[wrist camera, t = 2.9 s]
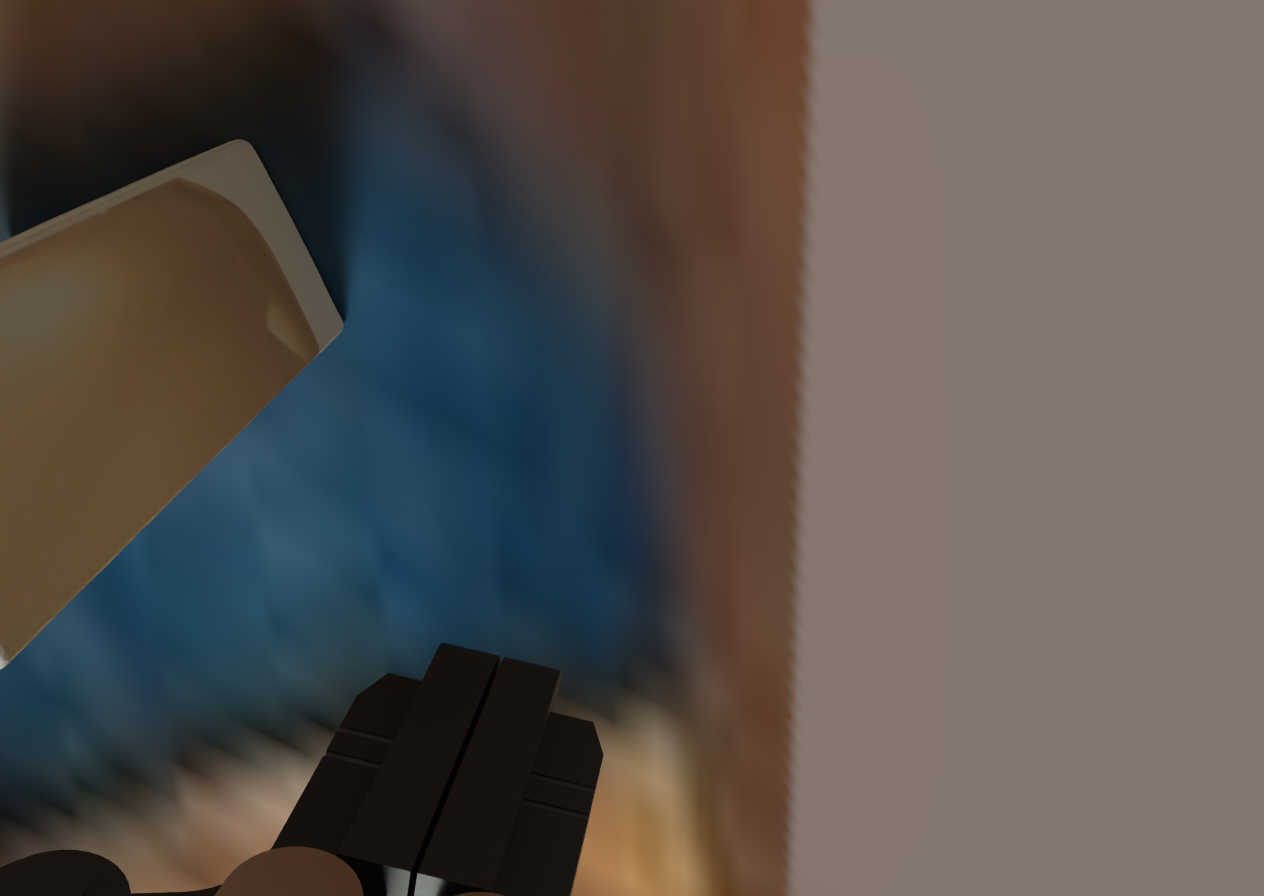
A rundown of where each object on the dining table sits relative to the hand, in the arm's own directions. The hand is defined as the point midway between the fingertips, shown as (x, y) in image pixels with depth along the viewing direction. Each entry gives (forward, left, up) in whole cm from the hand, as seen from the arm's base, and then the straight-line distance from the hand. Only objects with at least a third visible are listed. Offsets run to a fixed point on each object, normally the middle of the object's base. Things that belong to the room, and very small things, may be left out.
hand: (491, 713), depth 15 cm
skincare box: (-9, 0, -11) cm, 14 cm away
